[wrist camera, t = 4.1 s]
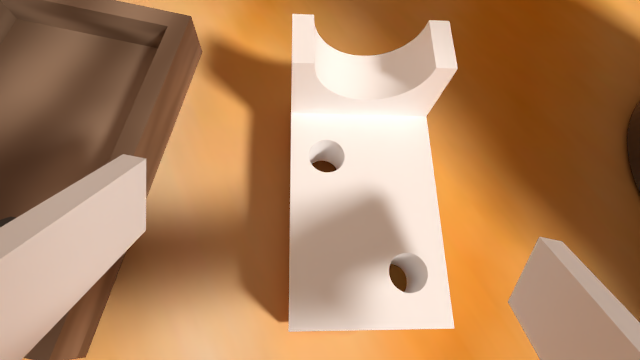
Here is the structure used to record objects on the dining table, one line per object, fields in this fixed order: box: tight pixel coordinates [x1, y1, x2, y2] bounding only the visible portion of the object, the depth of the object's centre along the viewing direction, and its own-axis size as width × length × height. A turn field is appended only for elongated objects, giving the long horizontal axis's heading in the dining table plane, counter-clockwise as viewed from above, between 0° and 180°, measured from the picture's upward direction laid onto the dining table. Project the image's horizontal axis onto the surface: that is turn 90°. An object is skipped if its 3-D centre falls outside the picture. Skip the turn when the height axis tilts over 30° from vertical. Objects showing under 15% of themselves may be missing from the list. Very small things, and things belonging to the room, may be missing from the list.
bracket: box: [289, 14, 458, 332], centre depth 18 cm, size 13×7×8 cm, turn 1°
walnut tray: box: [0, 0, 202, 360], centre depth 20 cm, size 12×18×3 cm
